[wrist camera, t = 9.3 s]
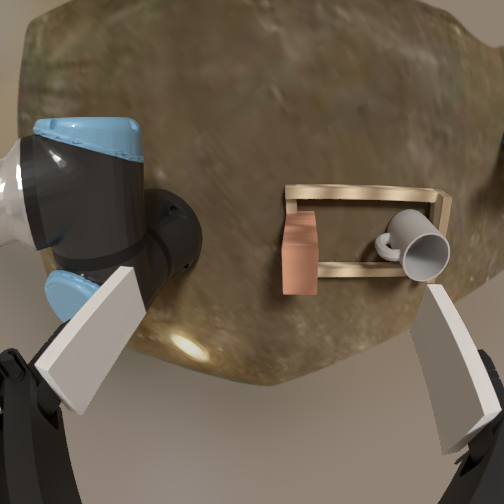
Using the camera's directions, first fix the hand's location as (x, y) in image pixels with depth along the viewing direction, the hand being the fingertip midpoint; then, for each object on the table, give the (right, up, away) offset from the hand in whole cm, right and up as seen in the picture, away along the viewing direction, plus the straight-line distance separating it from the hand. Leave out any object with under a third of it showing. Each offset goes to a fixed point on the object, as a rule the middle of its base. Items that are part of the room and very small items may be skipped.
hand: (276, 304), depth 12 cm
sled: (+16, +5, +29) cm, 34 cm away
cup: (+22, +6, +28) cm, 36 cm away
